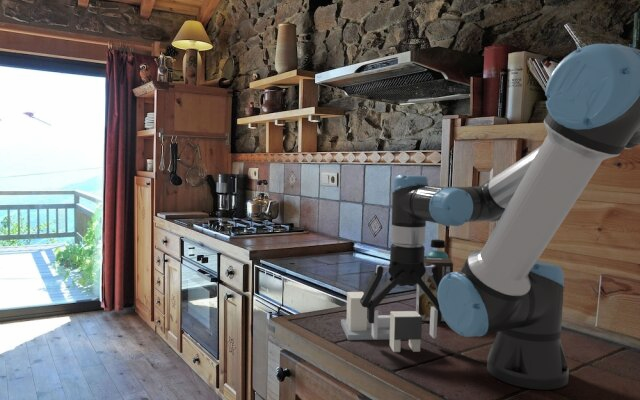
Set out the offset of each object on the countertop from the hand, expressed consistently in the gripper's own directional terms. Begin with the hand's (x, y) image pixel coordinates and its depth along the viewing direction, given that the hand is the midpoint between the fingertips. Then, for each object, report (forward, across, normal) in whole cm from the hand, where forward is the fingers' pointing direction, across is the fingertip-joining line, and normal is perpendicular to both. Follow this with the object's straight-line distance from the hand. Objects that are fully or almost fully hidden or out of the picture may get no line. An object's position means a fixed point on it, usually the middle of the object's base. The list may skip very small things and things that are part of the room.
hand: (403, 336), depth 114 cm
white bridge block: (+3, 0, 0) cm, 3 cm away
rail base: (+3, +4, -12) cm, 13 cm away
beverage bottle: (+3, -18, -32) cm, 37 cm away
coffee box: (+3, -14, -22) cm, 26 cm away
